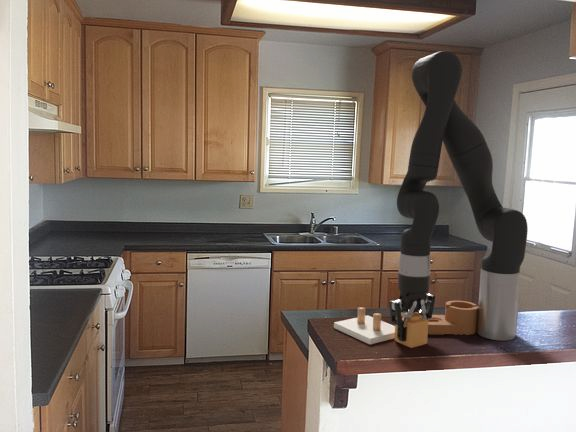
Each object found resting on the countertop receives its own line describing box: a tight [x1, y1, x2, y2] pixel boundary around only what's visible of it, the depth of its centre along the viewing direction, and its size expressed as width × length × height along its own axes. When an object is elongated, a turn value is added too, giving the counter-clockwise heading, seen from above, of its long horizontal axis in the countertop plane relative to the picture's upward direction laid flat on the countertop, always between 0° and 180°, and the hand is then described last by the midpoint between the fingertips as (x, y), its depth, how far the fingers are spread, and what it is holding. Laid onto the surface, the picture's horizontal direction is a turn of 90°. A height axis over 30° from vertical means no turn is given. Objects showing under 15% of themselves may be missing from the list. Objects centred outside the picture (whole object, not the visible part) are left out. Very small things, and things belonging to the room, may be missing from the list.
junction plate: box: [333, 306, 395, 345], centre depth 135 cm, size 12×14×6 cm
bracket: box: [427, 300, 478, 336], centre depth 138 cm, size 18×8×7 cm, turn 90°
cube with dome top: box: [394, 312, 429, 349], centre depth 128 cm, size 6×6×7 cm
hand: (410, 338), depth 128 cm, fingers closed on cube with dome top, 5 cm apart
